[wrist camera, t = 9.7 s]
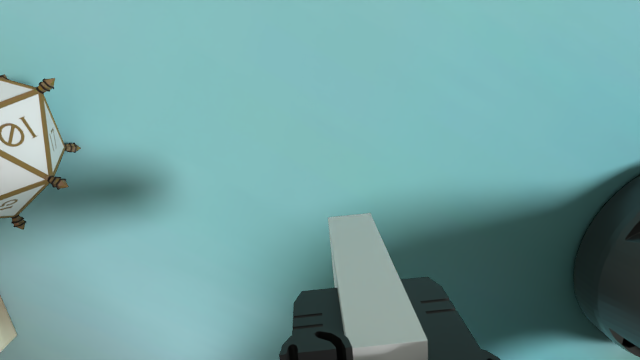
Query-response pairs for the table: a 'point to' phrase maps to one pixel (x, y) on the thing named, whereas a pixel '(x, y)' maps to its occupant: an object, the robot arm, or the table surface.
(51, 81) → the game die
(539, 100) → the table surface
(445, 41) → the table surface
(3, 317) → the birch board
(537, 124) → the table surface
